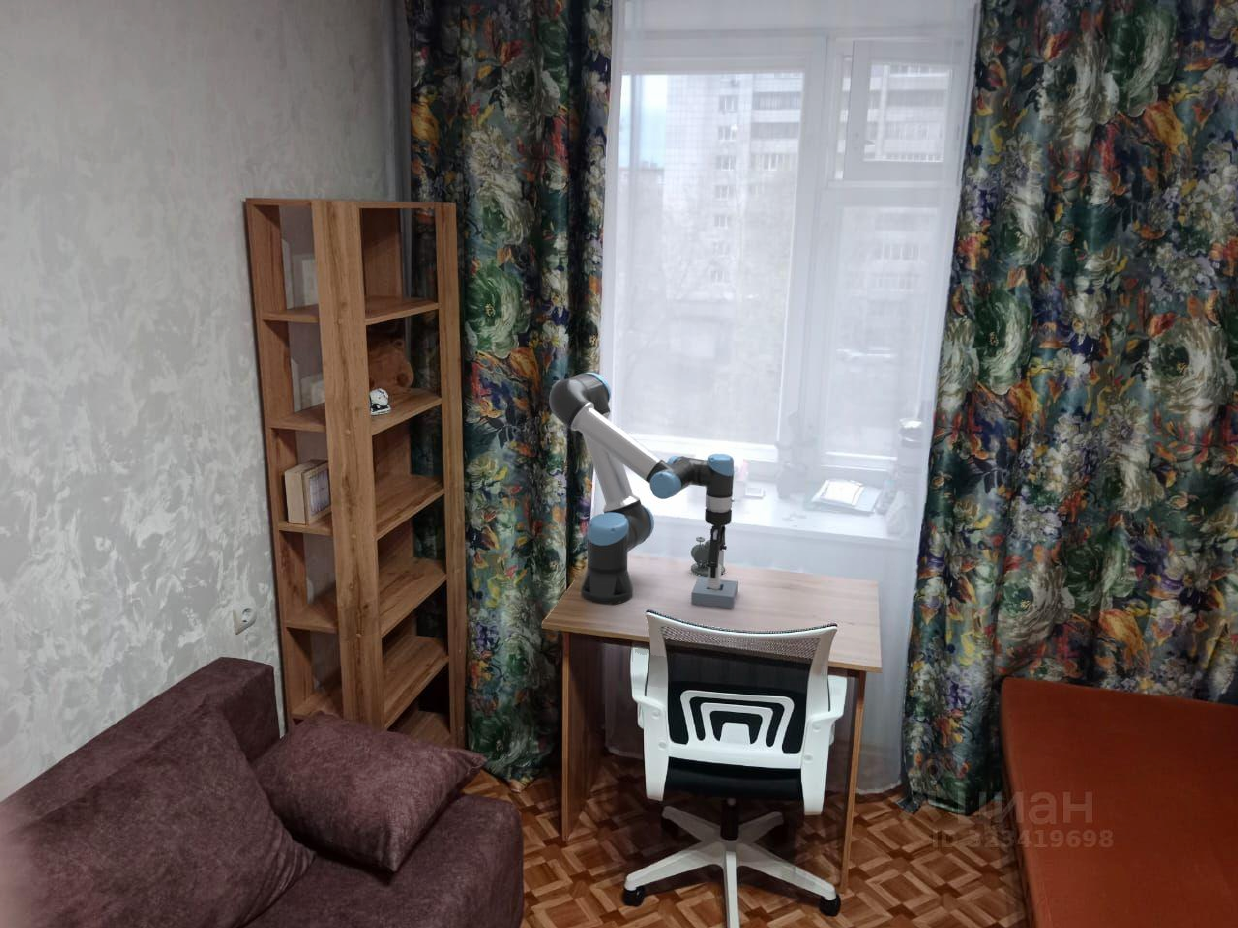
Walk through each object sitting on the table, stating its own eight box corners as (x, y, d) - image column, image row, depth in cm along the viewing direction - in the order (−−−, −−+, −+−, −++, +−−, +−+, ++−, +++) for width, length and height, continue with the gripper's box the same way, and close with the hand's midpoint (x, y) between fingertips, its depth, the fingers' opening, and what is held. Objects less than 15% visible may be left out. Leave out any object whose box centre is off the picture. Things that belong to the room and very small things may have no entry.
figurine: (729, 576, 286) (731, 539, 282) (696, 578, 283) (697, 542, 280) (718, 563, 296) (719, 528, 292) (686, 565, 293) (687, 530, 290)
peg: (708, 599, 268) (710, 567, 266) (710, 595, 271) (711, 563, 269) (719, 600, 268) (720, 568, 265) (720, 596, 271) (721, 564, 268)
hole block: (691, 603, 265) (691, 592, 264) (697, 587, 276) (698, 576, 276) (732, 608, 263) (733, 596, 262) (737, 591, 274) (738, 580, 273)
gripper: (726, 523, 250) (723, 596, 256) (736, 497, 273) (733, 565, 278) (699, 520, 252) (696, 593, 257) (711, 495, 274) (708, 562, 280)
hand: (715, 579), depth 268 cm, fingers open, 12 cm apart
